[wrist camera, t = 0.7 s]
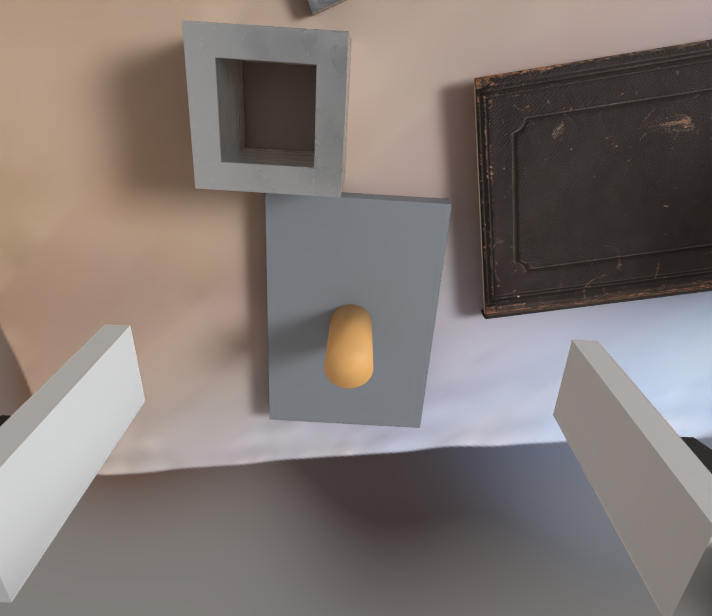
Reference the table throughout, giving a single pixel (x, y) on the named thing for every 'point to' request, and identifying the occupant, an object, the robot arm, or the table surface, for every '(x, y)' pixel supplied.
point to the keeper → (352, 305)
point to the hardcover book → (596, 180)
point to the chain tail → (322, 5)
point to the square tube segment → (226, 108)
